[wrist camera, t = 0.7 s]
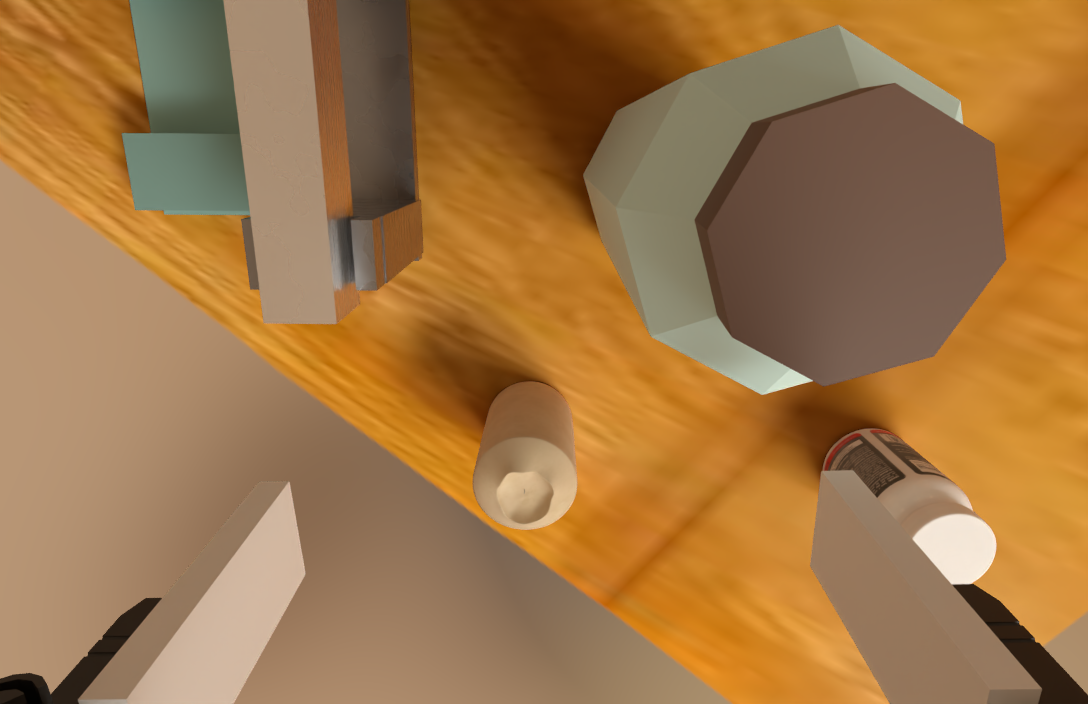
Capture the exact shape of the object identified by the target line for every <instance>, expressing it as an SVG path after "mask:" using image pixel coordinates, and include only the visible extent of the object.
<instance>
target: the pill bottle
mask: <svg viewBox="0 0 1088 704" xmlns="http://www.w3.org/2000/svg"><path fill="white" fill-rule="evenodd" d="M841 470H853V471H854V472H855V473H856V474H857V475H858V477H859V478H860V479H861V480H862V481H863V482H864V484H865V485H866V486H867V487H868V488H869V489H870V490H871V492H872V493H873V494H874V495H875V496H876V497H877V499H878V500H879V501H880V502H881V503H882V504H883V506H884V507H885V508H886V509H887V510H888V511H889V512H890V514H891V515H892V516H893V517H894V518H895V519H896V521H897V522H898V523H899V524H900V525H901V526H902V527H903V529H904V530H905V531H906V532H907V533H908V534H909V536H910V537H911V538H912V539H913V540H914V541H915V543H916V544H917V545H918V546H919V547H920V548H921V549H922V551H923V552H924V553H925V554H926V555H927V556H928V558H929V559H930V560H931V561H932V562H933V563H934V565H935V566H936V567H937V568H938V569H939V570H940V571H941V573H942V574H943V575H944V576H945V577H946V578H947V580H948V581H949V582H950V583H951V584H971V583H973V582H974V581H976V580H977V579H978V578H980V577H981V576H982V575H983V574H984V573H985V572H986V571H987V570H988V568H989V567H990V565H991V563H992V561H993V559H994V557H995V552H996V539H995V536H994V533H993V531H992V530H991V528H990V527H989V526H988V524H987V523H986V522H985V521H984V520H982V519H981V518H980V517H979V516H978V515H977V514H976V513H975V512H974V511H973V510H972V507H971V504H970V501H969V500H968V498H967V496H966V495H965V493H964V492H963V491H962V490H961V489H960V488H959V487H958V486H957V485H956V484H955V483H954V482H952V481H951V480H950V479H949V478H948V477H946V476H945V475H944V474H943V473H941V472H940V471H939V470H938V469H937V468H936V467H934V466H933V465H932V464H931V463H929V462H928V461H927V460H926V459H925V458H923V457H922V456H921V455H920V454H919V453H917V452H916V451H915V450H914V449H913V448H911V447H910V446H909V445H908V444H907V443H905V442H904V441H903V440H902V439H901V438H899V437H898V436H896V435H895V434H893V433H891V432H889V431H886V430H882V429H874V428H870V429H861V430H857V431H854V432H852V433H849V434H847V435H845V436H844V437H842V438H841V439H840V440H838V441H837V442H836V443H835V444H834V445H833V446H832V448H831V449H830V450H829V452H828V454H827V455H826V458H825V460H824V464H823V471H841Z"/></svg>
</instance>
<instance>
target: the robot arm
mask: <svg viewBox="0 0 1088 704" xmlns="http://www.w3.org/2000/svg"><path fill="white" fill-rule="evenodd" d="M810 566H811V568H812V570H813V572H814V573H815V575H816V577H817V579H818V580H819V582H820V584H821V585H822V587H823V589H824V591H825V592H826V594H827V596H828V598H829V599H830V601H831V603H832V604H833V606H834V608H835V610H836V611H837V613H838V615H839V617H840V618H841V620H842V622H843V623H844V625H845V627H846V629H847V630H848V632H849V634H850V636H851V637H852V639H853V641H854V642H855V644H856V646H857V648H858V649H859V651H860V653H861V655H862V656H863V658H864V660H865V661H866V663H867V665H868V667H869V668H870V670H871V672H872V674H873V675H874V677H875V679H876V680H877V682H878V684H879V686H880V687H881V689H882V691H883V692H884V694H885V696H886V698H887V699H888V701H889V703H890V704H1088V695H1087V694H1086V693H1085V692H1084V691H1083V689H1082V688H1081V687H1080V686H1079V685H1078V684H1077V683H1076V682H1075V681H1074V680H1073V679H1072V678H1071V677H1070V675H1069V674H1068V673H1067V672H1066V671H1065V670H1064V669H1063V668H1062V667H1061V666H1060V665H1059V664H1058V663H1057V662H1056V661H1055V660H1054V658H1053V657H1052V656H1051V655H1050V654H1049V653H1048V652H1047V651H1046V650H1045V649H1044V648H1043V647H1042V646H1041V644H1040V643H1036V642H1035V638H1034V637H1033V636H1032V635H1031V634H1030V633H1029V632H1028V631H1027V630H1026V628H1025V627H1024V626H1020V624H1019V621H1018V620H1017V619H1016V618H1015V617H1014V616H1013V615H1012V613H1011V612H1010V611H1009V610H1008V609H1007V608H1006V607H1005V606H1004V605H1003V604H1002V603H1001V602H1000V601H999V600H997V599H996V598H994V597H993V596H991V595H990V594H988V593H986V592H985V591H983V590H982V589H980V588H979V587H977V586H976V585H974V584H951V583H950V582H949V581H948V580H947V578H946V577H945V576H944V575H943V574H942V573H941V571H940V570H939V569H938V568H937V567H936V566H935V565H934V563H933V562H932V561H931V560H930V559H929V558H928V556H927V555H926V554H925V553H924V552H923V551H922V549H921V548H920V547H919V546H918V545H917V544H916V543H915V541H914V540H913V539H912V538H911V537H910V536H909V534H908V533H907V532H906V531H905V530H904V529H903V527H902V526H901V525H900V524H899V523H898V522H897V521H896V519H895V518H894V517H893V516H892V515H891V514H890V512H889V511H888V510H887V509H886V508H885V507H884V506H883V504H882V503H881V502H880V501H879V500H878V499H877V497H876V496H875V495H874V494H873V493H872V492H871V490H870V489H869V488H868V487H867V486H866V485H865V484H864V482H863V481H862V480H861V479H860V478H859V477H858V475H857V474H856V473H855V472H854V471H853V470H841V471H821V478H820V487H819V495H818V504H817V512H816V521H815V529H814V538H813V546H812V555H811V563H810ZM304 576H305V568H304V562H303V557H302V551H301V545H300V539H299V534H298V528H297V522H296V517H295V511H294V505H293V500H292V494H291V488H290V483H289V481H278V482H277V481H275V482H258V483H257V485H256V486H255V487H254V488H253V490H252V491H251V492H250V493H249V494H248V496H247V497H246V498H245V499H244V500H243V502H242V503H241V504H240V505H239V506H238V508H237V509H236V510H235V511H234V512H233V514H232V515H231V516H230V517H229V518H228V520H227V521H226V522H225V523H224V524H223V526H222V527H221V528H220V529H219V530H218V532H217V533H216V534H215V535H214V536H213V538H212V539H211V540H210V541H209V543H208V544H207V545H206V546H205V547H204V548H203V550H202V551H201V552H200V553H199V555H198V556H197V557H196V558H195V559H194V561H193V562H192V563H191V564H190V566H188V568H187V569H186V570H185V571H184V573H183V574H182V575H181V576H180V577H179V579H178V580H177V581H176V582H175V583H174V585H173V586H172V587H171V588H170V589H169V591H168V592H167V593H166V594H165V595H164V597H163V598H146V599H144V600H143V601H141V602H140V603H138V604H137V605H136V606H134V607H133V608H131V609H130V610H128V611H127V612H125V613H124V614H122V615H121V616H120V617H119V618H118V619H117V620H116V621H115V623H114V624H113V625H112V626H111V627H110V628H109V629H108V630H107V632H106V633H105V634H104V635H103V638H102V640H99V641H98V642H97V643H96V644H95V645H94V646H93V647H92V649H91V650H90V651H89V652H88V656H87V657H84V658H83V659H82V660H81V661H80V662H79V663H78V664H77V665H76V667H75V668H74V669H73V670H72V671H71V672H70V673H69V674H68V676H67V677H66V678H65V679H64V680H63V681H62V682H61V684H60V685H59V686H58V687H57V688H56V689H55V690H54V691H53V693H52V694H51V695H50V692H49V689H48V686H47V684H46V682H45V680H44V679H43V677H42V676H39V675H35V674H32V673H26V674H16V675H11V676H8V677H5V678H1V679H0V704H233V703H234V702H235V700H236V698H237V696H238V694H239V693H240V690H241V689H242V687H243V685H244V684H245V682H246V680H247V678H248V676H249V675H250V673H251V671H252V669H253V667H254V666H255V664H256V662H257V660H258V659H259V657H260V655H261V653H262V651H263V650H264V648H265V646H266V644H267V642H268V640H269V639H270V637H271V635H272V633H273V632H274V630H275V628H276V626H277V624H278V623H279V621H280V619H281V617H282V615H283V613H284V612H285V610H286V608H287V606H288V605H289V603H290V601H291V599H292V597H293V596H294V593H295V592H296V590H297V588H298V587H299V585H300V583H301V581H302V579H303V578H304Z"/></svg>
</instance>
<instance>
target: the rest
mask: <svg viewBox="0 0 1088 704" xmlns="http://www.w3.org/2000/svg"><path fill="white" fill-rule="evenodd" d="M129 1H130V8H131V14H132V20H133V26H134V32H135V38H136V44H137V50H138V57H139V63H140V69H141V75H142V81H143V87H144V93H145V99H146V106H147V112H148V118H149V124H150V130H151V133H122V138H123V143H124V149H125V155H126V160H127V166H128V172H129V177H130V183H131V189H132V195H133V200H134V206H135V210H164V214H186V215H250V209H249V201H248V193H247V185H246V177H245V169H244V161H243V153H242V145H241V137H240V129H239V121H238V113H237V105H236V97H235V89H234V81H233V73H232V65H231V57H230V49H229V41H228V33H227V25H226V17H225V9H224V1H223V0H129Z"/></svg>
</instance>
